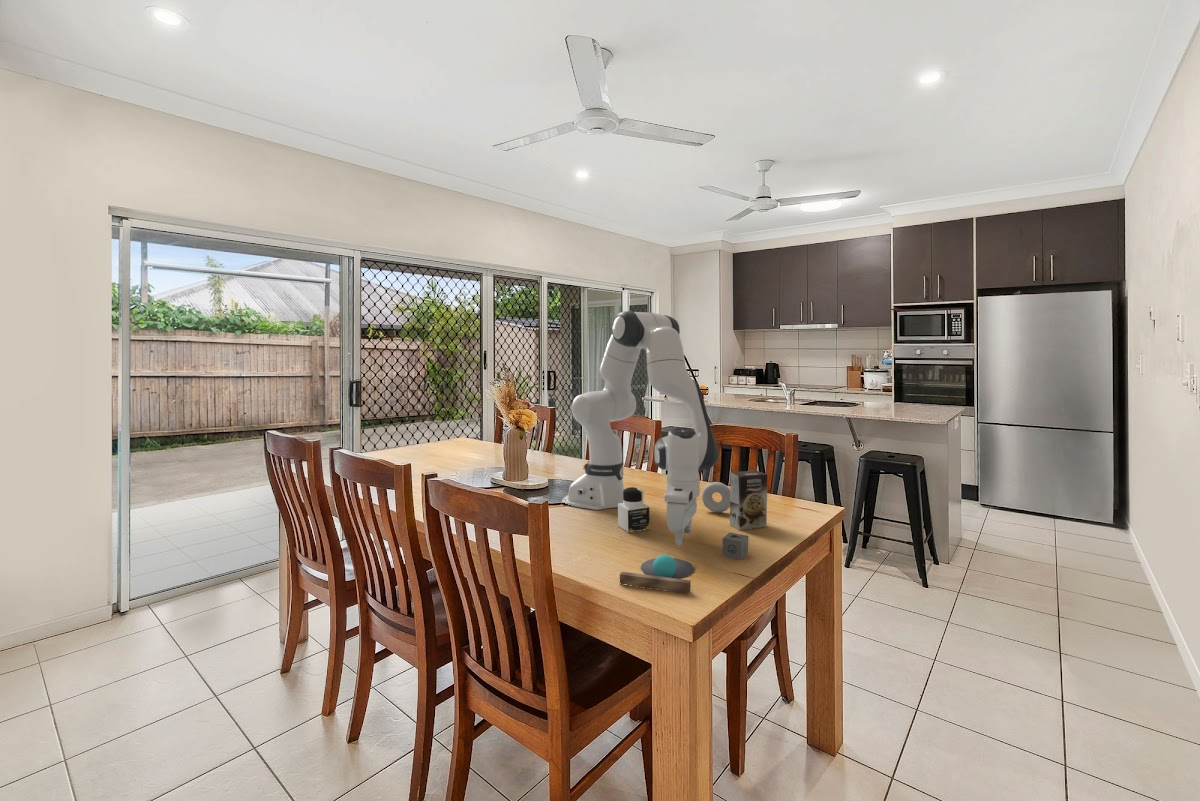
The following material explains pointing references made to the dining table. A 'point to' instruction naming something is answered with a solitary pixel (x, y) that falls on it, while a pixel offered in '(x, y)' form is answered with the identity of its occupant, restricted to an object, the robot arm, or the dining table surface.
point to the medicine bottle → (633, 511)
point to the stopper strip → (655, 582)
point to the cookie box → (748, 500)
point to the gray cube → (735, 546)
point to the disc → (681, 571)
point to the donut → (708, 499)
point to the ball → (664, 566)
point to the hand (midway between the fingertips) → (683, 538)
